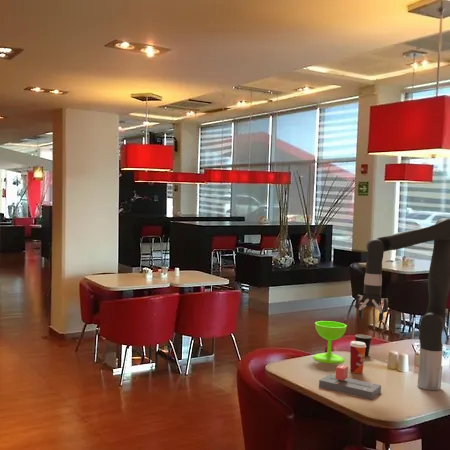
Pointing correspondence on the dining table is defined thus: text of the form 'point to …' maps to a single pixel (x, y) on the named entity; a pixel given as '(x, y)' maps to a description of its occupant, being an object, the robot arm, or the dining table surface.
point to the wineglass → (329, 340)
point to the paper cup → (357, 356)
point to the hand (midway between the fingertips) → (370, 319)
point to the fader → (341, 372)
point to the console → (350, 386)
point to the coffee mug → (366, 340)
